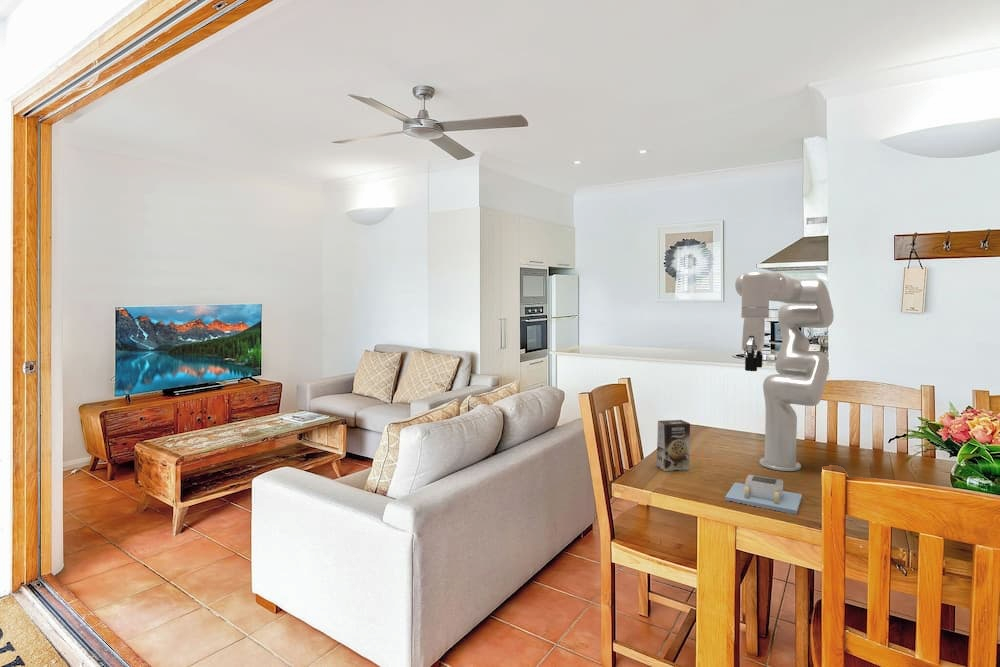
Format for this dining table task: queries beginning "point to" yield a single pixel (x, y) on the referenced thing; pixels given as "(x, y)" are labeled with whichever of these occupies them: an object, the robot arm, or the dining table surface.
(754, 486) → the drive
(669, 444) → the cookie box
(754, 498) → the blue pegged holder base
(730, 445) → the dining table surface
